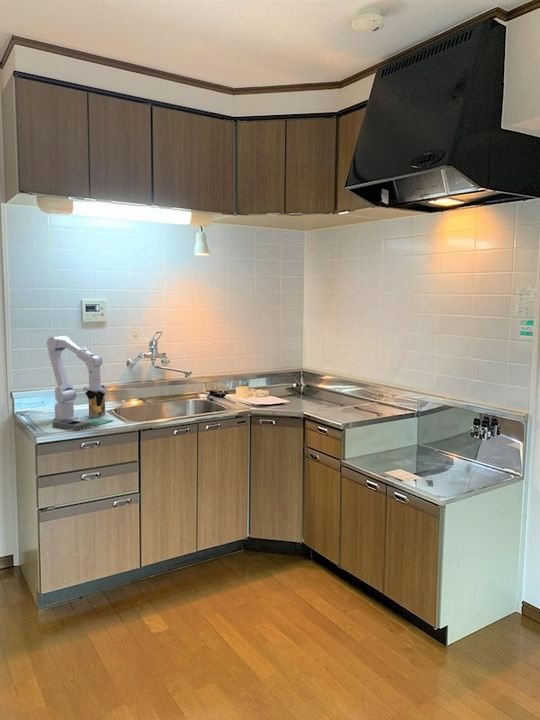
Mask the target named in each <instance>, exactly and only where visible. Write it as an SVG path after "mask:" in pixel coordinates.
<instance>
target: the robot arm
mask: <svg viewBox="0 0 540 720" xmlns="http://www.w3.org/2000/svg"><path fill="white" fill-rule="evenodd" d="M46 346H47V350H48V357H49V360H50V364H51V367H52V370H53V375H54V377H55V381H56V385H57V386H56V387H55V389H54V394H55V395H54V398H55V400H56V403H54V418H53V419H54V420H57V421H59V420H62V419H70V420H76V419H78V416H75V411H74V410H75V408H74V402H75V400H76V398H77V391H76V390H75V388H74V385H72V384H71V383H69V381H68V377H67V374H66V371H65V367H64V362H63V360H62V356H61V354H62V352H63V351H65V349H67V350H69V351H71V352H73V353H74V354H76V357H77V358H78V359H79V360H80V361H82V362H84V363H85V366H86V368H87V371H88V386H83V387H82V389H83V392H85V395H86V397H87V399H88V400H89V399H92V398H95V397H96V402H97V406H101V403H102V399H103V397H104V395H105V396H106V393H108V389H107V388H102V387H101V385H102V384H101V379H102V378H101V366H103V365H102V364H103V358H102V357H101V356H100V355H99V354H97V355H95V354H94V353H93V352H90V351H89V350H88V349H87V348H84V347H82V348H80V347H79V346H78V345H77V344H76V343H74V342H73V341H72V340H71V338H70V337H68V336H67V335H61V336H59V335H58V336H50V337H48V339H47V341H46ZM96 392H97V393H96Z"/></svg>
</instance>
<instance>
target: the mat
mask: <svg viewBox="0 0 540 720" xmlns="http://www.w3.org/2000/svg"><path fill="white" fill-rule="evenodd" d="M82 421H83V422H90V426H91V425H92V427H99V426H98V425H100V426H103V425H106V424H110V423H113V422H114V420H113V419H106V418H102V417H93V418H89V419H87V420H82ZM112 421H113V422H112ZM109 422H110V423H109ZM102 424H103V425H102Z"/></svg>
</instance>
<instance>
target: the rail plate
mask: <svg viewBox="0 0 540 720" xmlns="http://www.w3.org/2000/svg"><path fill="white" fill-rule="evenodd" d="M83 421H84V420H76V419H71V420H70V419H62V420H56V421H52V428H57V429H63V430H68V429H73V430H72V431H74V430H79V431H81V430H80V429H83V428H86V429H88V428H87V427H89V428H91V425H90V422H83ZM83 430H84V429H83Z"/></svg>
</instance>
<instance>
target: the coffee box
mask: <svg viewBox="0 0 540 720" xmlns="http://www.w3.org/2000/svg"><path fill="white" fill-rule="evenodd" d="M101 387H102V388H105V385H102V384H101ZM105 389H106V388H105ZM96 393H97V392H96ZM95 398H96V397H95ZM105 415H106V394H105V395H104V397H103V399H102V403H101V412H99V413H90V404H89V403H88V417H89V418H102V417H103V416H105Z"/></svg>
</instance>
